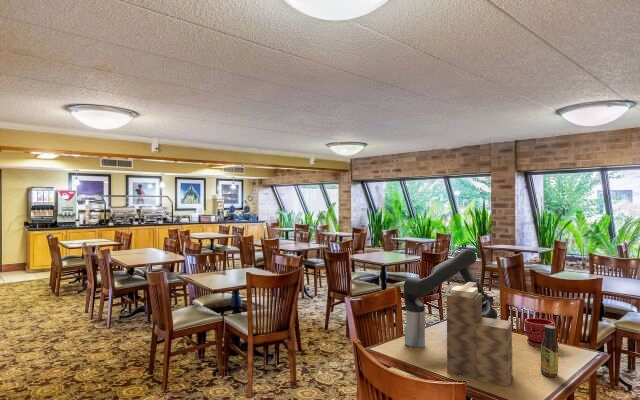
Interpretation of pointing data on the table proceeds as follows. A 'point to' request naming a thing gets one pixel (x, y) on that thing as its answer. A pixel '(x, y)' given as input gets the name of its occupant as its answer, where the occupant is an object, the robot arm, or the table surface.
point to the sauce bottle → (549, 353)
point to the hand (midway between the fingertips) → (474, 293)
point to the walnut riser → (477, 342)
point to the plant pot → (536, 330)
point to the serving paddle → (465, 290)
